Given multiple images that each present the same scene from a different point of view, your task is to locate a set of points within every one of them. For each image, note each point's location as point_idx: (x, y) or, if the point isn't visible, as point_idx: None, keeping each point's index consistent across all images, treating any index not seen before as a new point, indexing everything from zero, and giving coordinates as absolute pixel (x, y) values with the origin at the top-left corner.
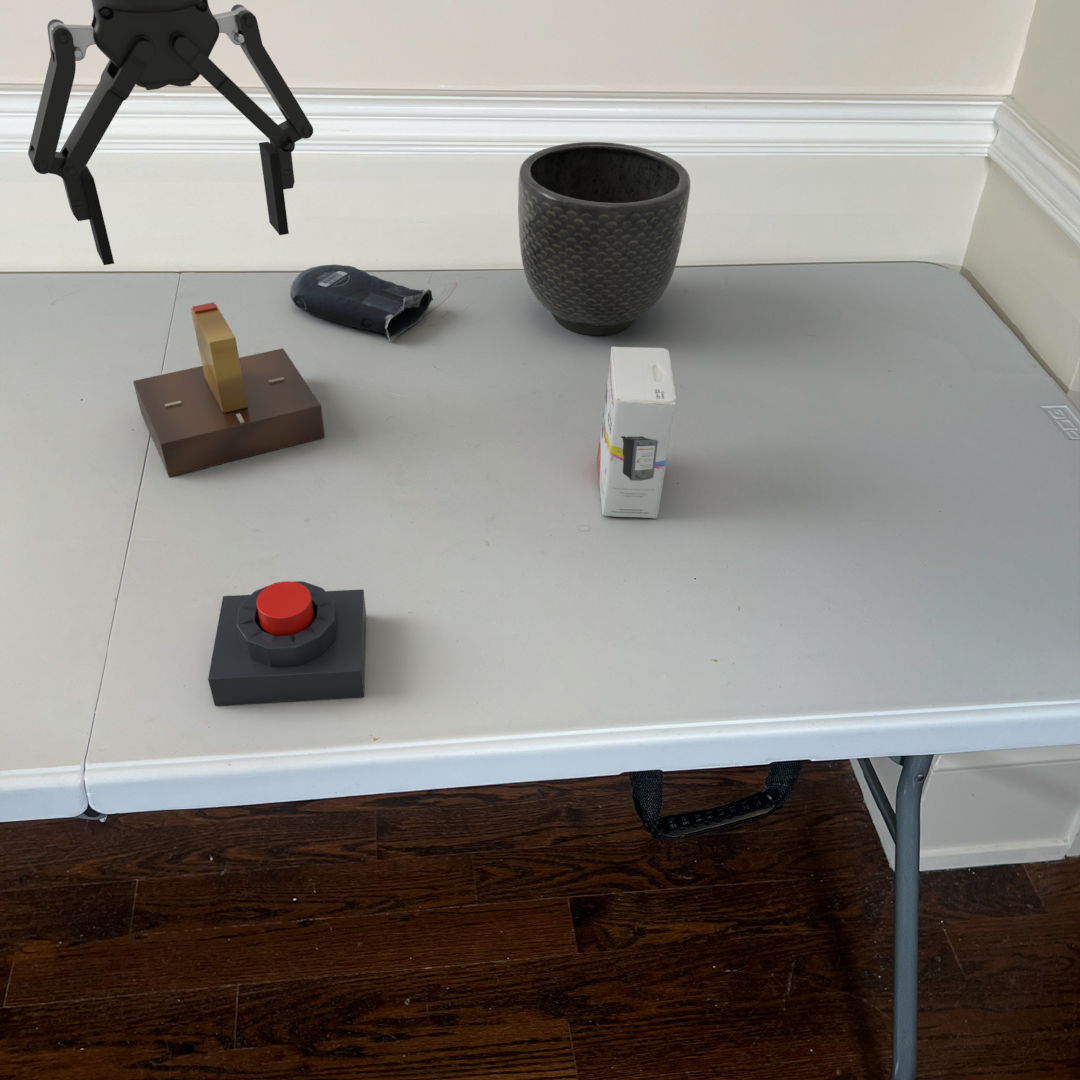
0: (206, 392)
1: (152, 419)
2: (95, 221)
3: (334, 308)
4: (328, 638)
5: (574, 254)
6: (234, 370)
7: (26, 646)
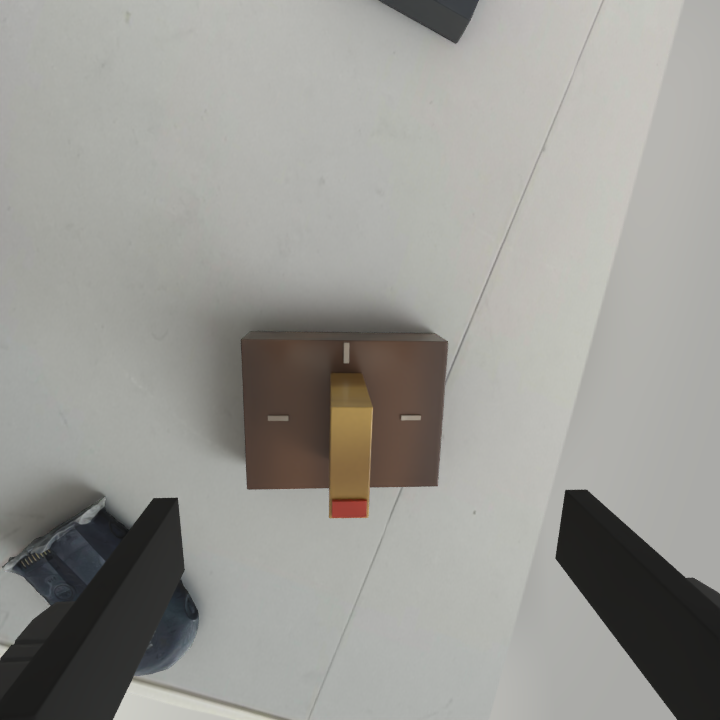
0: None
1: (441, 396)
2: (659, 559)
3: None
4: None
5: None
6: (340, 389)
7: (636, 120)
